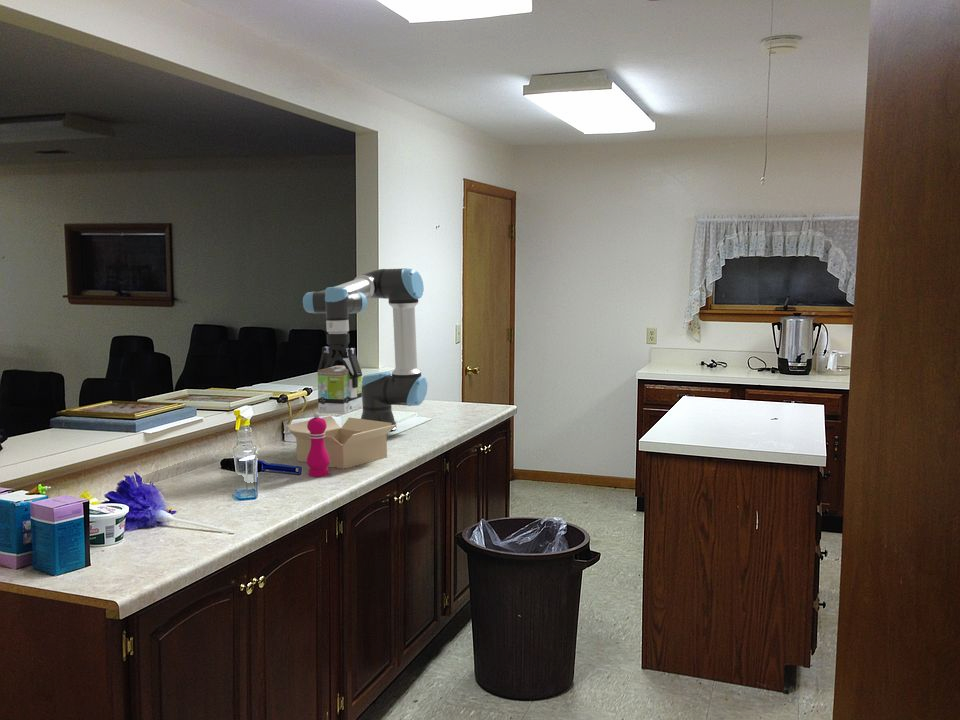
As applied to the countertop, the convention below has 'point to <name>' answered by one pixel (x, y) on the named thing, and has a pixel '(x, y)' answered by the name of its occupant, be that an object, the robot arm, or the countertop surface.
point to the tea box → (337, 391)
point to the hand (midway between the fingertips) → (340, 396)
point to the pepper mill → (317, 448)
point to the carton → (346, 441)
